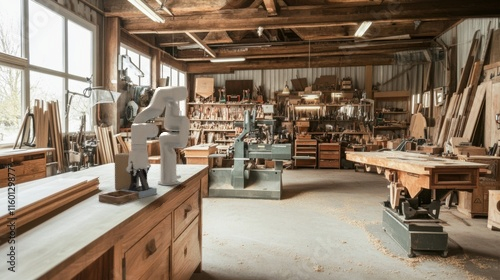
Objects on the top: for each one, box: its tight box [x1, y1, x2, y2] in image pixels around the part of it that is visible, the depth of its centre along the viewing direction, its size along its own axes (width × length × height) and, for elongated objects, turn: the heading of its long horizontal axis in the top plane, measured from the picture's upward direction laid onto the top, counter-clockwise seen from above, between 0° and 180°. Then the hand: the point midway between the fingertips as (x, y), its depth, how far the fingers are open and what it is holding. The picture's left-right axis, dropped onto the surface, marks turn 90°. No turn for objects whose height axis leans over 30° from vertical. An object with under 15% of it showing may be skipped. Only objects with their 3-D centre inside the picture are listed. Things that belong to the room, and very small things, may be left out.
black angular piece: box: [129, 168, 150, 191], centre depth 164 cm, size 9×6×12 cm, turn 91°
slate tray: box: [122, 185, 158, 199], centre depth 164 cm, size 12×12×3 cm
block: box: [114, 152, 140, 191], centre depth 177 cm, size 10×10×20 cm
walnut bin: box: [98, 190, 139, 205], centre depth 153 cm, size 12×12×3 cm
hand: (139, 181), depth 164 cm, fingers closed on black angular piece, 6 cm apart
